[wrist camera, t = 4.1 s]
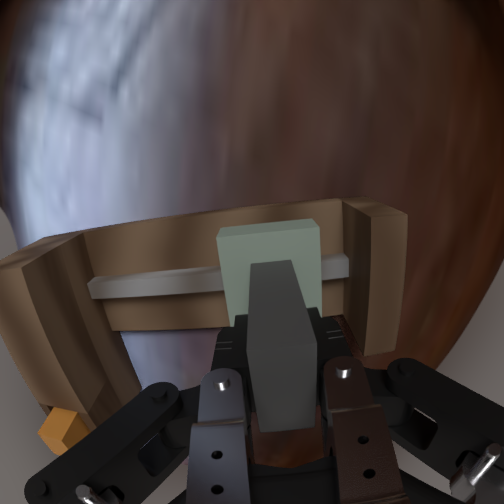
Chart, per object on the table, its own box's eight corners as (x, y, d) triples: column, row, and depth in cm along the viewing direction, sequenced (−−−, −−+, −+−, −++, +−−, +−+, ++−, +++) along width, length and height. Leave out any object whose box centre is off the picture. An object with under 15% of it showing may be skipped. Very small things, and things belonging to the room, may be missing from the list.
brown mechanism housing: (365, 196, 19) (428, 224, 11) (358, 372, 23) (385, 442, 16) (44, 237, 20) (-23, 273, 12) (98, 383, 24) (65, 441, 17)
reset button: (85, 398, 17) (61, 440, 13) (98, 419, 18) (78, 461, 14) (62, 394, 17) (37, 433, 13) (75, 415, 18) (54, 453, 14)
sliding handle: (306, 212, 18) (370, 289, 7) (311, 314, 20) (349, 441, 10) (223, 221, 18) (183, 308, 8) (238, 321, 20) (226, 453, 10)
